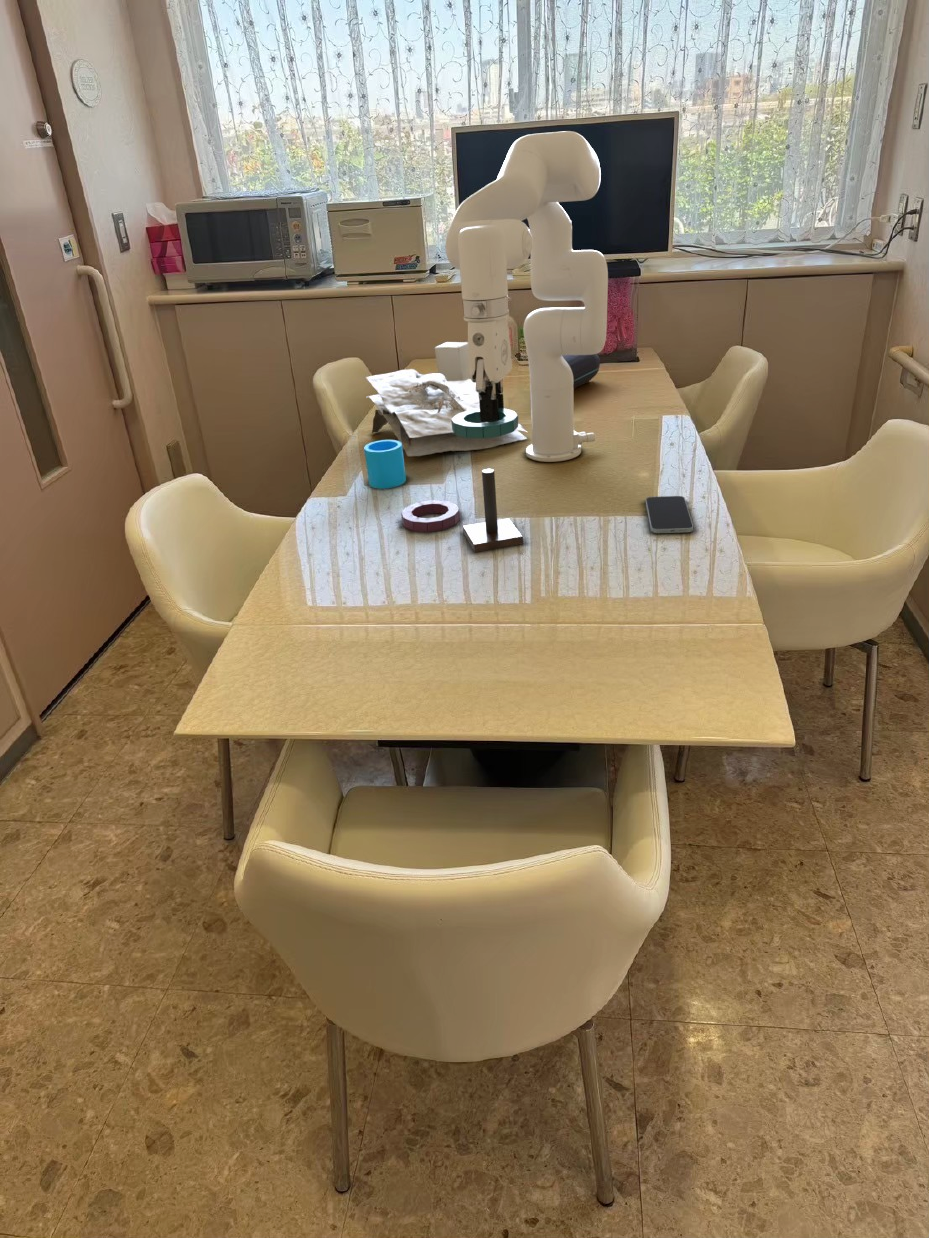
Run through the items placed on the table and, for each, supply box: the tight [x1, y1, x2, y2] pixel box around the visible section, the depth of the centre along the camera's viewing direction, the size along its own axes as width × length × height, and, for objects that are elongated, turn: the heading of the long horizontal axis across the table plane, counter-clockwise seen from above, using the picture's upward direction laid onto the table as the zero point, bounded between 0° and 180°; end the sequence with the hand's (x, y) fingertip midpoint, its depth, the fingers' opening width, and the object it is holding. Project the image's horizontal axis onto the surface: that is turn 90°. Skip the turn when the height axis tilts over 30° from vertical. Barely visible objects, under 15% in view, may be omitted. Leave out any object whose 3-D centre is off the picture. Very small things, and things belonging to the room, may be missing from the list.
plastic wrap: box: [365, 368, 528, 457], centre depth 206 cm, size 35×16×32 cm
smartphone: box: [645, 495, 694, 534], centre depth 153 cm, size 7×1×15 cm
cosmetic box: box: [434, 341, 470, 381], centre depth 232 cm, size 8×7×16 cm
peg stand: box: [462, 468, 524, 553], centre depth 148 cm, size 9×9×13 cm
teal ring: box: [451, 407, 519, 438], centre depth 141 cm, size 11×11×2 cm
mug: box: [363, 439, 407, 489], centre depth 181 cm, size 12×8×8 cm
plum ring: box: [400, 499, 461, 533], centre depth 161 cm, size 11×11×2 cm
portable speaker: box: [563, 353, 601, 390], centre depth 234 cm, size 25×10×10 cm, turn 144°
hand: (492, 418), depth 145 cm, fingers closed on teal ring, 2 cm apart
